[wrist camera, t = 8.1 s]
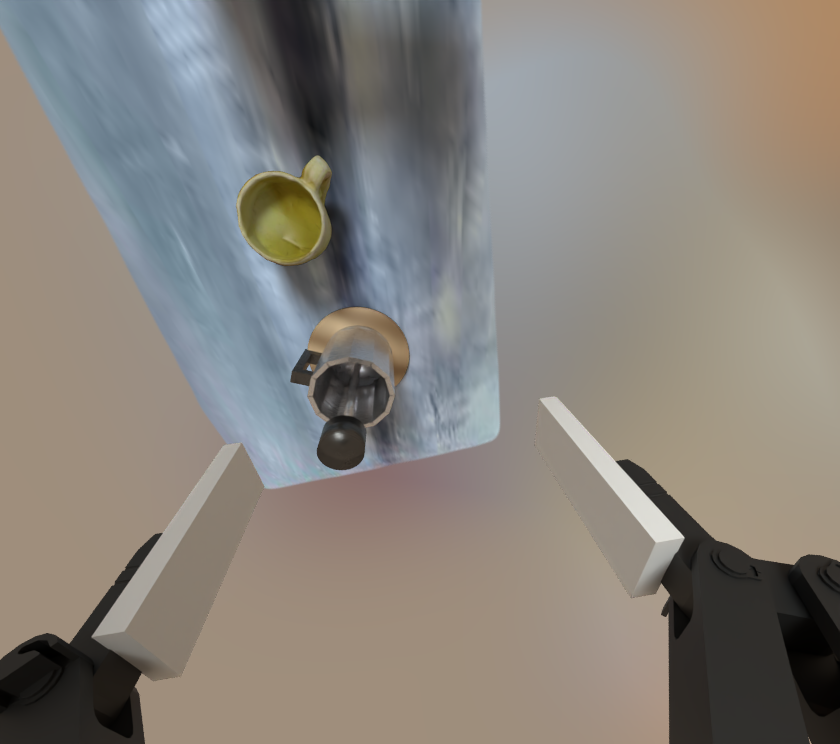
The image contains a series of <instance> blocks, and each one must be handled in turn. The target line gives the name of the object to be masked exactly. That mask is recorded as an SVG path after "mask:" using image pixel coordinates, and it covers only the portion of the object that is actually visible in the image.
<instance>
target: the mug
mask: <svg viewBox="0 0 840 744" xmlns="http://www.w3.org/2000/svg"><path fill="white" fill-rule="evenodd" d="M331 175H332V172H331V170H330V168H329V166H328V164H327V163H326V162H325V161H324V160H323V159H322V158H321V157H320V156H315V157H313V158H312V159H311V161H309V162H308V163H307V164H306V166H305V167H304V169H303V171H302V176H301V177H299V178H298V177H295V176H292V175H290V174H288V173H285V172H281V171H268V172H263V173H260V174H257V175H255V176H254V177H252V178H251V179H249V180H248V181H247V182H246V183H245V184H244V186H243V187H242V189H241V190H240V192H239V195H238V199H237V204H236V208H237V213H238V221H239V227H240V230H241V233H242V235H243V237H244V238H245V240H246V241H247V242H248V244H249V245H250V246H251V247H252V248H253V249H254V250H255V251H256V252H257V253H259V254H260V255H261V256H262V257H264V258H265V259H266V260H269V261H271V262H274V263H276V264H279V265H283V266H294V265H300V264H303V263H306V262H308V261H310V260H312V259H315V258H316V257H318V256H319V255H320V254H322V252H323V251H324V250H325V249H326V247H327V246H328V244H329V241H330V238H331V232H332V231H331V223H330V219H329V217H328V214H327V211H326V209H325V205H324V204H325V197H326V193H327V191H328V189H329V186H330V179H331Z"/></svg>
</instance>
